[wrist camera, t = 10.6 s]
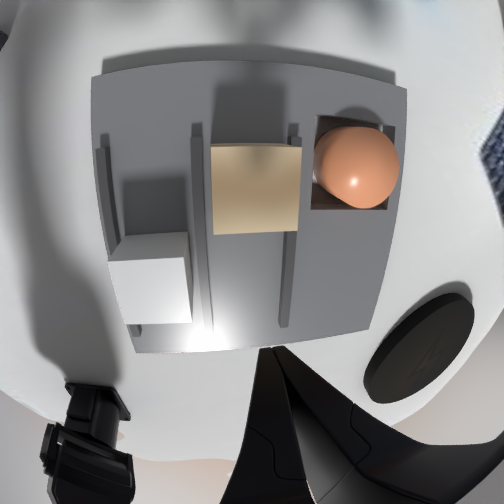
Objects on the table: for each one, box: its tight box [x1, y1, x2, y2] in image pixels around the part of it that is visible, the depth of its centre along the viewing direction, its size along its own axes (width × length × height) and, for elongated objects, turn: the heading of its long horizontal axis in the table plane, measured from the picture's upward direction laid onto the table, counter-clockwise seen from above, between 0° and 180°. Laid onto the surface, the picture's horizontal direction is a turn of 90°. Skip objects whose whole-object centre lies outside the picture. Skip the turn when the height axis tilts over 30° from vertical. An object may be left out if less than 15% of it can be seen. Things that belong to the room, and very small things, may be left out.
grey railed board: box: [91, 60, 407, 353], centre depth 17 cm, size 20×20×2 cm
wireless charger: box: [363, 293, 474, 404], centre depth 28 cm, size 18×18×2 cm
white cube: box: [107, 231, 194, 324], centre depth 15 cm, size 4×4×4 cm
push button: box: [313, 126, 399, 208], centre depth 16 cm, size 5×5×3 cm
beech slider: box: [210, 143, 302, 235], centre depth 14 cm, size 4×4×4 cm
